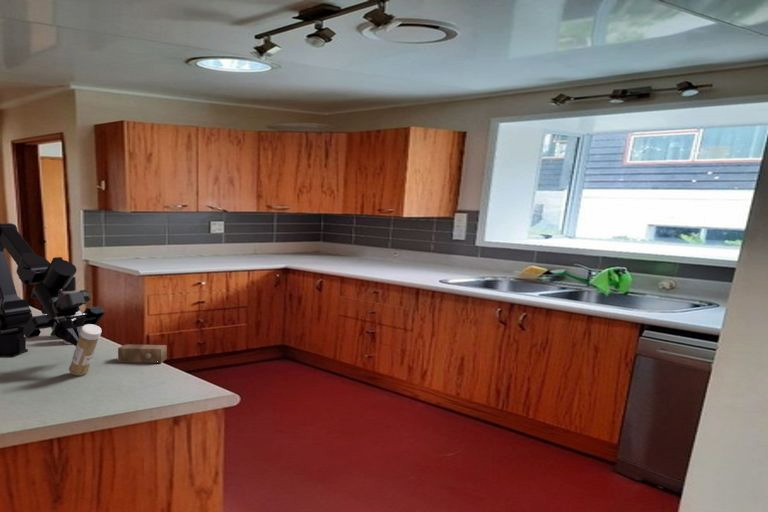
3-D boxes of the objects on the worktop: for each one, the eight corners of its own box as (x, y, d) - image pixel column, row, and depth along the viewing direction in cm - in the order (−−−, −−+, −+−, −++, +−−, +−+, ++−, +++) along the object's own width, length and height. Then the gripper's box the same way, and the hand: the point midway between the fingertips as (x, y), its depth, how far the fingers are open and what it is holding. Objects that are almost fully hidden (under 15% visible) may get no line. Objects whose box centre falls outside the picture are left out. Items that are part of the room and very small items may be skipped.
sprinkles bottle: (88, 376, 130) (102, 335, 126) (67, 375, 127) (81, 333, 123) (88, 365, 133) (101, 324, 129) (68, 364, 131) (81, 322, 127)
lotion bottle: (57, 339, 159) (57, 277, 158) (59, 335, 164) (59, 275, 163) (78, 338, 162) (78, 277, 160) (79, 334, 167) (79, 275, 165)
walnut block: (117, 348, 141) (160, 349, 142) (124, 344, 145) (166, 345, 146) (117, 362, 141) (160, 363, 142) (124, 358, 146) (166, 359, 146)
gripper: (28, 284, 122) (58, 334, 118) (100, 277, 139) (127, 320, 135) (10, 313, 126) (38, 362, 122) (81, 302, 142) (108, 345, 139)
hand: (81, 346), depth 129 cm, fingers closed
